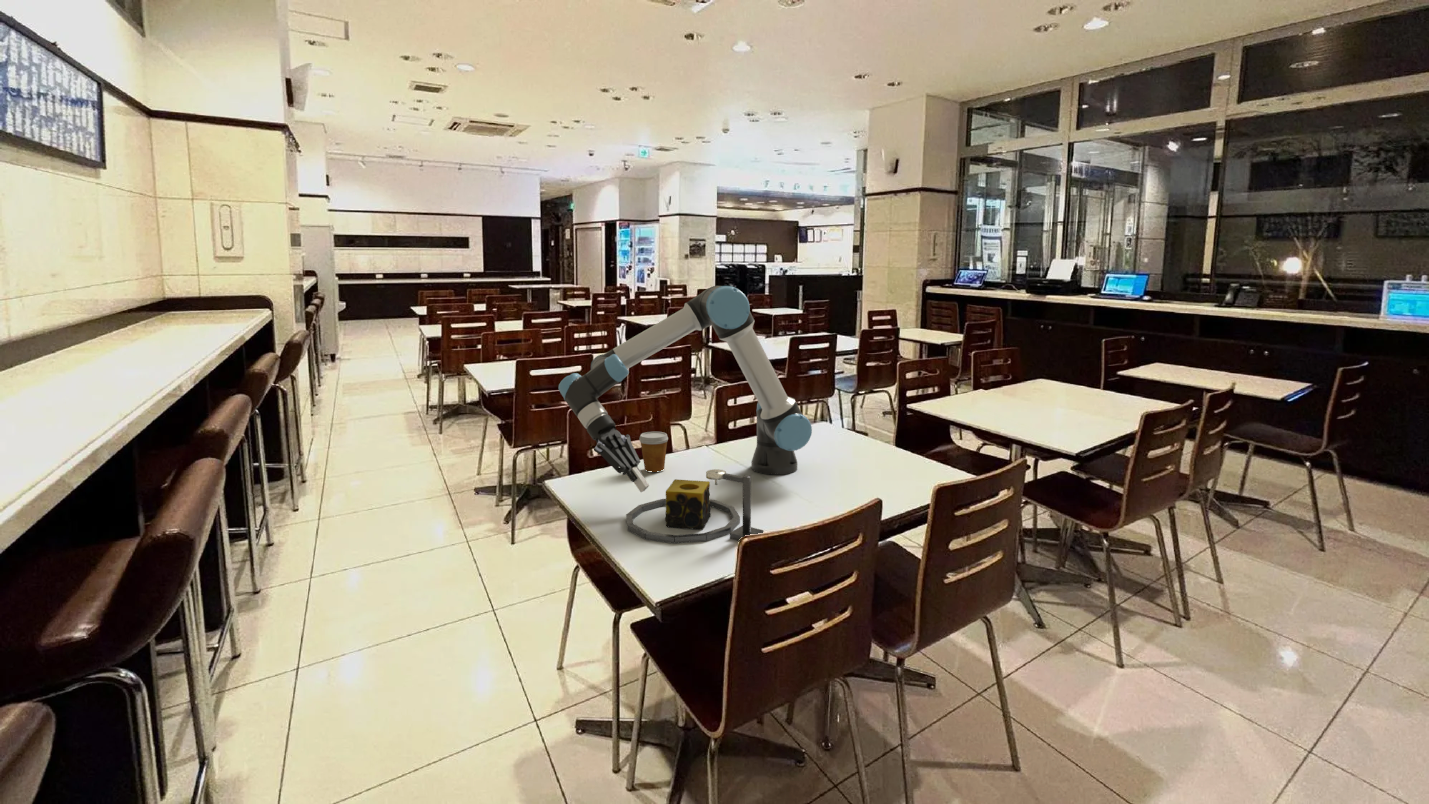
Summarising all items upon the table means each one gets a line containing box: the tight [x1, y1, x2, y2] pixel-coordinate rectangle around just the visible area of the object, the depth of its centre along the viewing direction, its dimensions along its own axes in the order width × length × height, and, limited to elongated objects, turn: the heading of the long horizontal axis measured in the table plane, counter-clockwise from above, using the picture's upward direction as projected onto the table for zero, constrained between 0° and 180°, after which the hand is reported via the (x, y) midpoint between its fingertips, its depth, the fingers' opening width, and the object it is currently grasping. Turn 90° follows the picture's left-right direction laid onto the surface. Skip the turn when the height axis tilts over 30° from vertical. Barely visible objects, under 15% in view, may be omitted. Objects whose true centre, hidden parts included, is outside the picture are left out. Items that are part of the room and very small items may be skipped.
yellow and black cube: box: [664, 478, 712, 531], centre depth 178 cm, size 10×10×10 cm
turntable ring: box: [625, 498, 741, 544], centre depth 180 cm, size 29×29×2 cm
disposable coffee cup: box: [638, 431, 669, 472], centre depth 225 cm, size 10×10×12 cm
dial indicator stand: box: [705, 468, 765, 542], centre depth 170 cm, size 14×6×16 cm, turn 55°
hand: (645, 488), depth 186 cm, fingers closed
